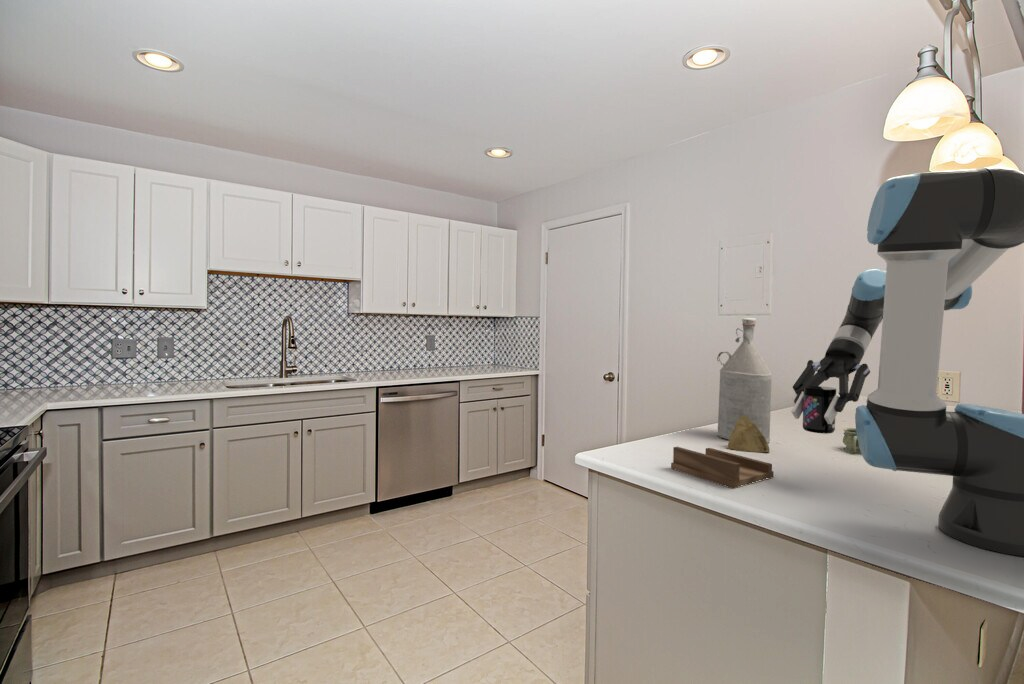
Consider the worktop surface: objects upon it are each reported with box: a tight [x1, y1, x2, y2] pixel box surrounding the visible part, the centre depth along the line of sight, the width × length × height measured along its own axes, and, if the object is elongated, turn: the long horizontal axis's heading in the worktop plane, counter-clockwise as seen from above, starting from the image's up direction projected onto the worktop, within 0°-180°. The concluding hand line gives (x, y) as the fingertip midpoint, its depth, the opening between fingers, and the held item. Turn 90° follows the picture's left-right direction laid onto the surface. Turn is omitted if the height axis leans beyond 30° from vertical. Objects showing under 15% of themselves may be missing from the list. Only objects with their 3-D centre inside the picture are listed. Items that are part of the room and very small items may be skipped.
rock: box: [726, 416, 771, 453], centre depth 148 cm, size 11×9×10 cm
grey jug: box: [716, 317, 773, 444], centre depth 162 cm, size 13×17×40 cm
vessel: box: [842, 427, 862, 456], centre depth 148 cm, size 12×9×6 cm
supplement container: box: [802, 385, 837, 435], centre depth 119 cm, size 7×7×10 cm
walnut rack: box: [670, 446, 775, 489], centre depth 126 cm, size 16×18×6 cm
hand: (810, 417), depth 117 cm, fingers closed on supplement container, 7 cm apart
